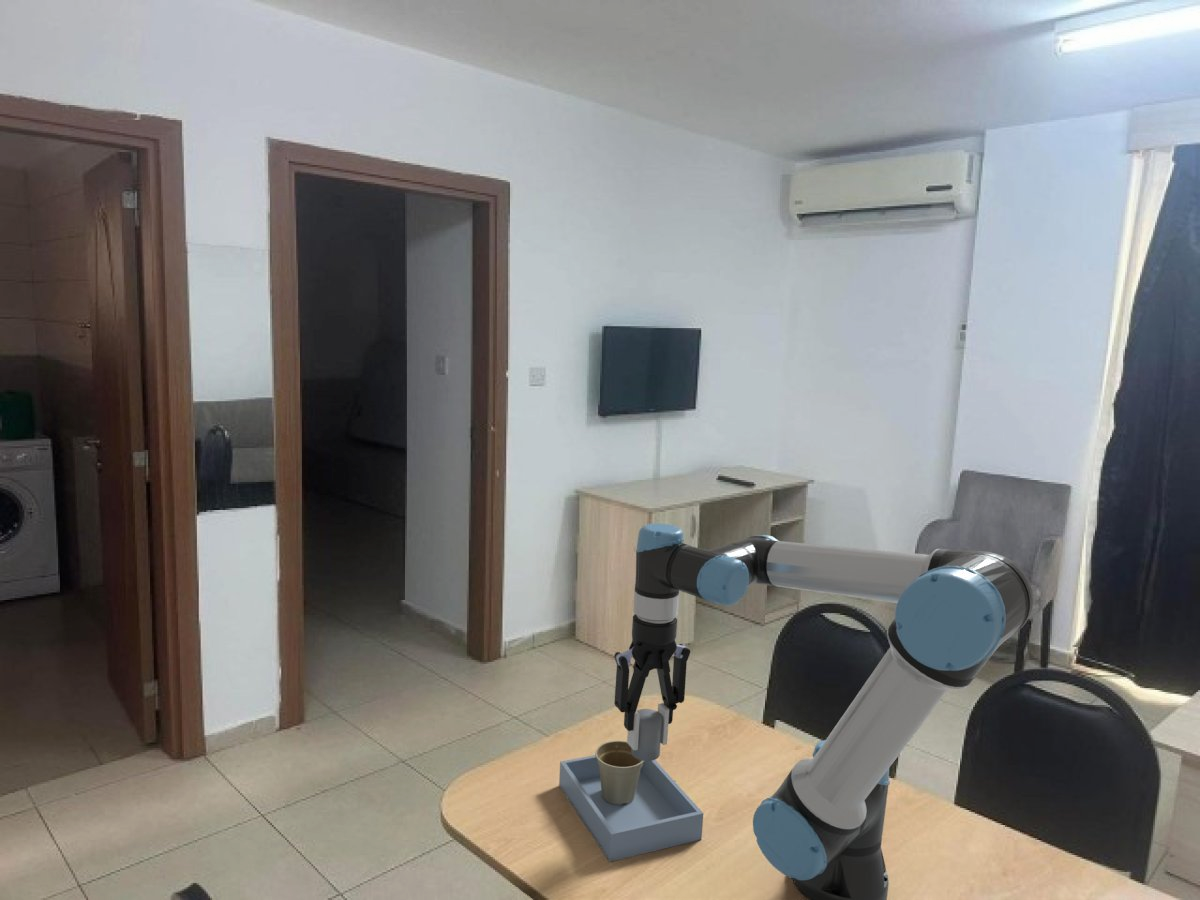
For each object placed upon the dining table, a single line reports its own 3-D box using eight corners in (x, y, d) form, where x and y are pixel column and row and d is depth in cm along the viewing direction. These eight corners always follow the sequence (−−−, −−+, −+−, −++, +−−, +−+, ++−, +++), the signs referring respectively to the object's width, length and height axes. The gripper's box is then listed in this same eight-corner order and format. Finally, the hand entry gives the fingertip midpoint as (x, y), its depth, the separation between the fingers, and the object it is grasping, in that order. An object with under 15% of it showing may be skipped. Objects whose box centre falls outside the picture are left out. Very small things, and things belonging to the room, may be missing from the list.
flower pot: (644, 812, 150) (646, 768, 148) (592, 809, 150) (594, 765, 148) (642, 783, 159) (645, 742, 158) (593, 780, 159) (596, 739, 158)
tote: (701, 839, 144) (703, 813, 143) (609, 861, 137) (611, 834, 136) (641, 769, 165) (642, 746, 164) (559, 785, 158) (560, 761, 157)
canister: (664, 758, 142) (667, 720, 141) (638, 763, 140) (641, 725, 139) (651, 743, 147) (654, 707, 146) (626, 748, 145) (628, 711, 144)
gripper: (690, 603, 146) (681, 725, 150) (597, 613, 139) (590, 741, 143) (712, 618, 139) (702, 745, 143) (616, 629, 132) (608, 763, 136)
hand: (647, 743), depth 143 cm, fingers closed on canister, 5 cm apart
